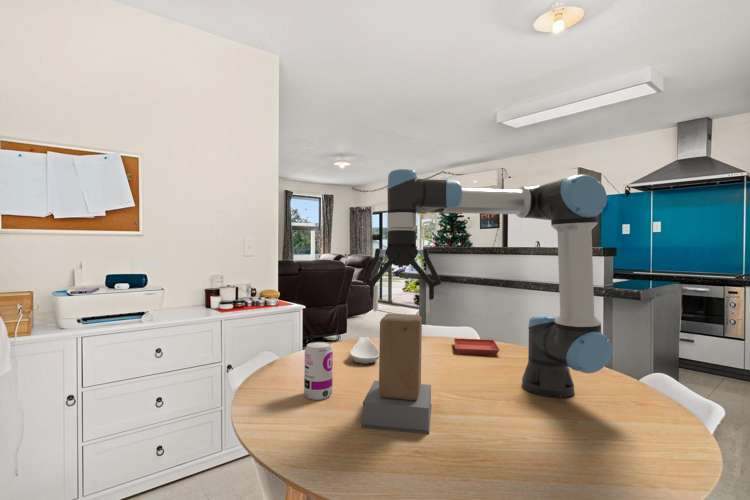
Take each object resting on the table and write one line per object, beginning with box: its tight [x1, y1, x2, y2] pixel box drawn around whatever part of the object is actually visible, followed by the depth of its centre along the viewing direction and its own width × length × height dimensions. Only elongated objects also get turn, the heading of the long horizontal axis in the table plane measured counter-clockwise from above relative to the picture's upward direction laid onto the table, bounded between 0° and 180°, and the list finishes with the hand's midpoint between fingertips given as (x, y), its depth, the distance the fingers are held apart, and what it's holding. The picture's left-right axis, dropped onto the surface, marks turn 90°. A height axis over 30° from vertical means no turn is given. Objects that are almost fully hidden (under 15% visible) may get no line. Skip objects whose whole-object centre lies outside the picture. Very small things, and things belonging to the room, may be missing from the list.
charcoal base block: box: [360, 380, 432, 435], centre depth 101 cm, size 16×16×6 cm
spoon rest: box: [349, 336, 380, 365], centre depth 155 cm, size 24×12×7 cm, turn 5°
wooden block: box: [378, 313, 423, 400], centre depth 101 cm, size 10×10×20 cm
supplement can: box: [303, 341, 334, 401], centre depth 114 cm, size 8×8×15 cm
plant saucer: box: [453, 337, 500, 357], centre depth 168 cm, size 18×18×3 cm
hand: (401, 311), depth 101 cm, fingers open, 13 cm apart
